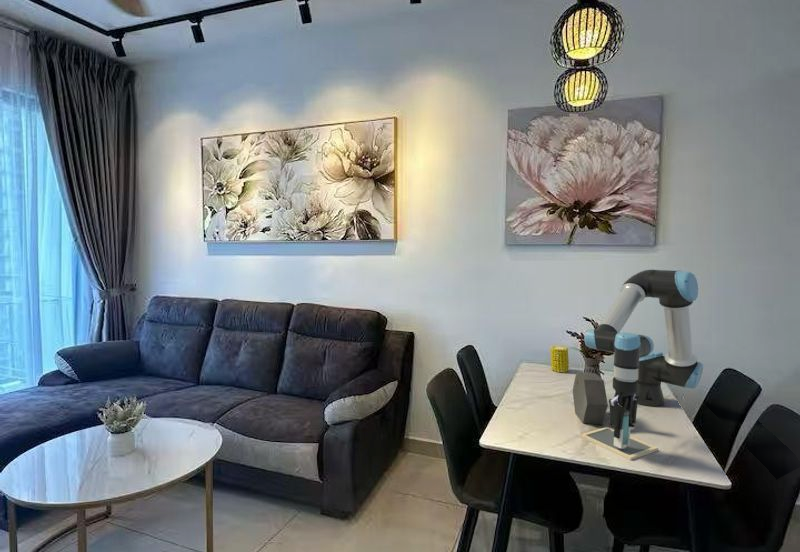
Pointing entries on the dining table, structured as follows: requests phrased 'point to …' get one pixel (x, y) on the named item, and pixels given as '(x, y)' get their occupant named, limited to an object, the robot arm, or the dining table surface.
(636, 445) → the slate board
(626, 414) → the teal marker
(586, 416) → the planter
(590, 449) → the dining table surface
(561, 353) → the food
